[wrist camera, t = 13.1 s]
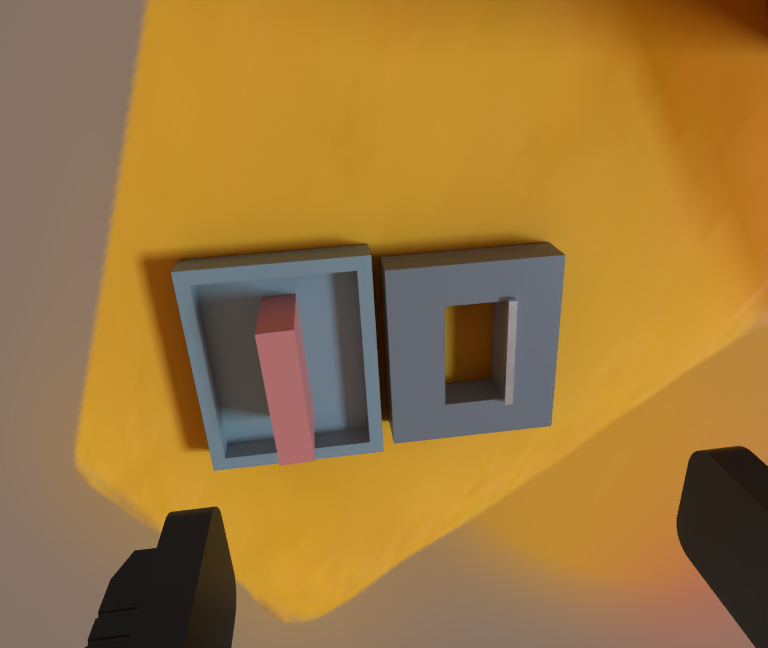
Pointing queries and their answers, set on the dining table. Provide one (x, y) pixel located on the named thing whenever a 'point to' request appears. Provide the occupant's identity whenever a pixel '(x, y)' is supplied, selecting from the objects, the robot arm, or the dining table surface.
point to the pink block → (286, 378)
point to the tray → (320, 337)
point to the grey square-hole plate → (509, 347)
